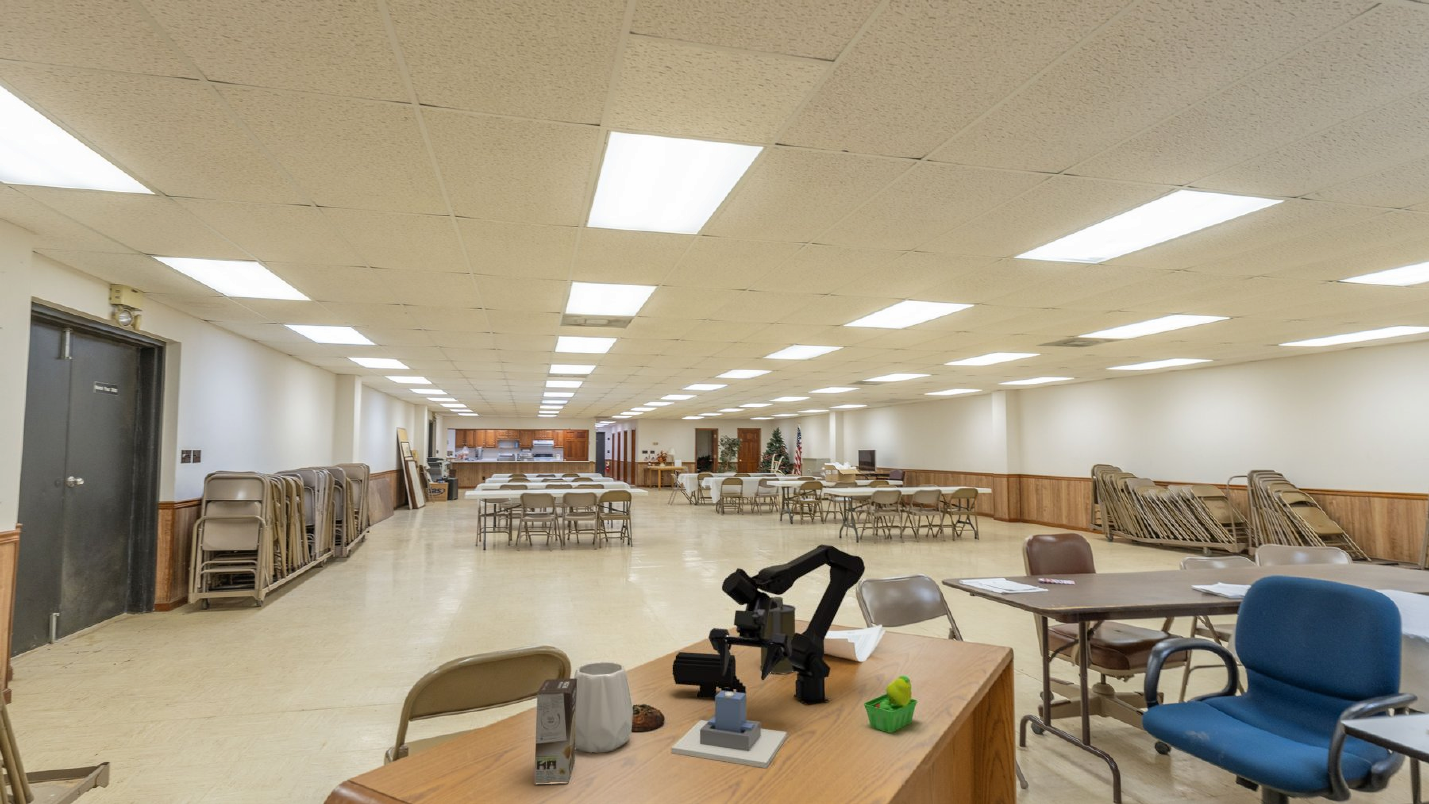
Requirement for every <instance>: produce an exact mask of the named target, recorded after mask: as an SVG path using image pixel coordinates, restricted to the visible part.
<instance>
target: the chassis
mask: <svg viewBox="0 0 1429 804" xmlns="http://www.w3.org/2000/svg"><path fill="white" fill-rule="evenodd" d="M711 718H715V715H713V716H712V717H711ZM708 721H709V720H703V719H700V720H699V721H698V722H697V723H695V725H694V726H693V727H691V728H690V730H688V731H687V732H686V733H685V734H684V735H683V736H682V737H681V738H680V739H679V740H678V741H677V742H676V743H674V744H673V745H672V746H671V750H670V752H671V753H672V754H677V755H681V756H682V755H683V756H689V757H695V758H702V759H708V760H713V761H720V762H726V763H732V764H738V765H744V766H750V767H757V768H763V769H767V768H768V767H769V765H770V763H771V762H772V761H773V759H774V758H775V756H776V754H777V753H778V751H779V750H780V748H781V747H782V746H783V744H784V742H785V741H786V739H787V738H788V732H787V731H782V730H773V729H767V728H761V725H762V723H761V721H756V720H749V719H746V723H753V724H754V728H753V729H752V730H751V731H748V730H746V731H745V732H744V733H737V732H730V731H723V730H717V729H715V726H713V725H708Z"/></svg>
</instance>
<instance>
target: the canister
mask: <svg viewBox="0 0 1429 804" xmlns="http://www.w3.org/2000/svg"><path fill="white" fill-rule="evenodd" d="M773 599H774V601H775V602H776V603H777V606H778V607H777V608H774V609H771V610H770V612H769V616H768V621H767V627H768V628H767V631H765V635H764V639H770V636H771V634H772V633H777V634H787V636H788V637H789V639H790V643H791V641H792V639H793V636H794V634H795V633H796V607H795V606H793V605H790V604H784V598H783V597H782V596H773ZM766 655H767V648H760V668H761V669H760V670H761V671H762V669H763V666H764V662H765V659H766ZM792 671H793V669H792V665H791V663H790V662H789V660H788V658H785V660H784V661H780V662H779V663H778V664H777V665H776V666H775V667H774V668H773V669H772V670H771V671H770V672H771V673H770V674H772V673H779V674H778V675H782V674H781V673H788V674H790V673H789V672H792ZM792 673H793V672H792Z"/></svg>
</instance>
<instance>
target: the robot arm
mask: <svg viewBox="0 0 1429 804" xmlns="http://www.w3.org/2000/svg"><path fill="white" fill-rule="evenodd" d="M824 565H827V566H829V583H828V585H827V587H826V589H825V591H824V593H823V596H822V597H821V599H820V602H819V604H818V605H817V607H816V609H815V612H814V613H813V616H812V618H811V620H810V622H809V623H808V626H807V627H806V629H805V630H804V631H803V632H802V633H799V632H795V634H794V636H793V639H792V641H791V643H790V639H789V637H788V636H787V634H777V633H772V634H771V636H770V639H764V635H765V631H767V628H768V627H767V621H768V616H769V612H770V610H771V609H774V608H777V607H778V606H777V603H776V602H775V601H774V599H773V598H774V596H770V595H769V594H771V595H775V596H781V595H783V594H785V593H786V592H787V591H788V590H790V589H791V588H792V587H793V585H794V584H795V582H796V581H797V580H798V579H800V578H802V577H804V576H805V575H808V574H809V573H811V572H813V571H815V570H816V569H819V568H821V567H823V566H824ZM865 569H866V566H865V563H864V560H863V558H862V557H860V556H859V555H853V554H849V553H848V552H845V551H842V550H840V549H838V548H836V547H835V546H834V545H829V544H823V543H822V544H819V545H817V547H815V548H813V549H811V550H809V551H807V552H806V553H804V554H802V555H800V556H797V557H796V558H794V559H792V560H790V561H789V562H786V563H783V564H778V565H771V566H767V567H764V568H762V569H760V570H759V571H758V574H755V575H753V576H750V575H749V574H748V573H747V571H745V570H744V569H743V568H739V567H738V568H736V570H735V571H734V572H732V573H730V574H729V575H727V577H725V579H724V580H723V582H722V585H721V590H722V592H723V593H725V594H726V595H727V596H728V597H730V598H731V599H732V600H733V601H734V602H735V603H737V604H738V605H739V606H744V605H746V606H745V609H744V610H740V609H738V610H735V611H734V612H735V613H734V619H733V625H734V626H736V629H735V631H736V633H737V634H738V635H730V633H729V630H728V628H719V627H717V628H716V627H713V628H711V629H710V631H709V634H708V637H707V638H708V640H709V642H710V644H711V646H712V649H713V650H714V651H715V652H717V653H718V654H720V662H721V674H722V676H724V675H725V673H726V670H727V666H728V662H729V658H730V655H731V651H730V650H731V648H732V646H743V647H751V648H760V649H761V648H767V655H766V659H765V662H764V666H763V669H762V670H761V676H760V679H761V681H765V679H766V678H767V676H769V674H771V673H770V671H771V670H772V669H773V668H774V667H775V666H776V665H777V664H778V663H779V662H780V661H784V660H785V658H788V660H789V662H790V663H791V665H792V669H793V671H794V672H796V680H795V683H794V684H795V694H794V695H793V698H795V699H797V700H798V701H800V702H801V703H803V704H805V705H806V706H807V705H813V704H820V703H826V702H829V699H828V697H826V690H825V687H826V684H825V683H826V682H825V679H826V678H828V677H829V676H830V671H831V667H830V666H829V665H828V664H827V662H826V661H825V660H823V657H824V655H825V639H826V636H827V634H828V632H829V630H830V628H831V625H832V624H833V621H834V619H835V617H836V615H837V613H838V610H839V609H840V607H841V605H842V603H843V601H844V599H845V596H846V595H847V592H848V591H849V590H850V589H851V588H852V587H854V586H855V585H857V584H858V582H859V581H860V579H861V578H862V576H863V575H864V573H865V571H866V570H865ZM767 593H768V594H767Z"/></svg>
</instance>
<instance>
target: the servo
mask: <svg viewBox="0 0 1429 804" xmlns="http://www.w3.org/2000/svg"><path fill="white" fill-rule="evenodd" d="M714 706H715V707H714V711H715V712H714V713H715V714H714V716H715V718H712V717H711V718H710V719H709V720H707V721H708V725H713V726H715V729H717V730H723V731H730V732H737V733H744V732H745V731H746V730H748V731H751V730H752V729H753V728H754V724H753V723H746V720H747V692H746V693H738V692H736V691H734V692H730V691H721V690H720V691H719V693H716V696H715V699H714Z"/></svg>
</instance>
